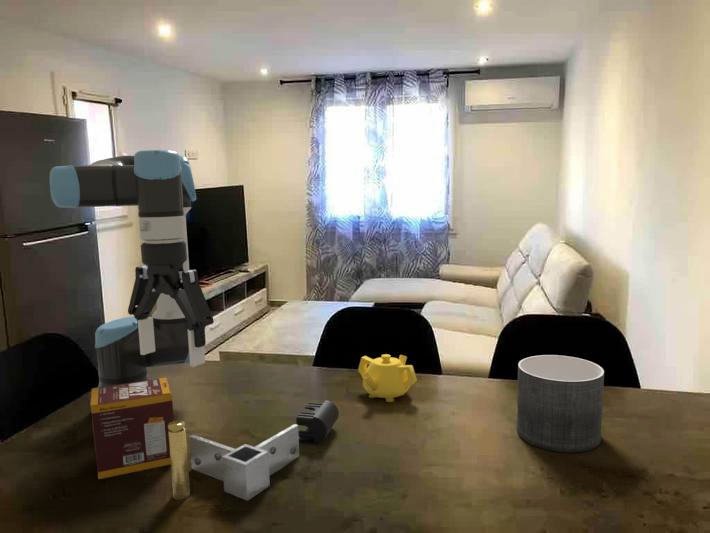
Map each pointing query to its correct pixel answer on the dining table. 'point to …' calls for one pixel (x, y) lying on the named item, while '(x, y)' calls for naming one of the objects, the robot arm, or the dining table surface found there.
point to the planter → (560, 403)
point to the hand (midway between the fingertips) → (172, 358)
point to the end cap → (317, 422)
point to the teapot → (386, 376)
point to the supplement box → (131, 426)
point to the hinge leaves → (245, 461)
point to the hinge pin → (179, 459)
